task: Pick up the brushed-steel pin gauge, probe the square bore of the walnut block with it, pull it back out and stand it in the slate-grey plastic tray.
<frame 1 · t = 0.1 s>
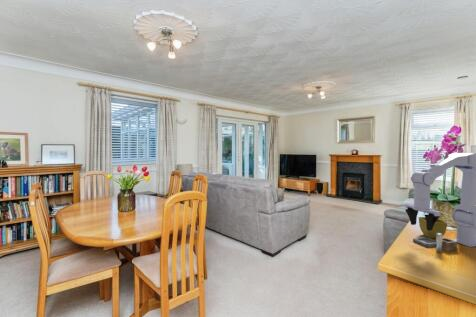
hand: (421, 227, 105), 10 cm above the table, fingers open, 7 cm apart
pin gauge: (439, 251, 102), on the table
walnut block: (446, 248, 105), on the table
tray: (426, 243, 110), on the table
flower pot: (431, 237, 119), on the table
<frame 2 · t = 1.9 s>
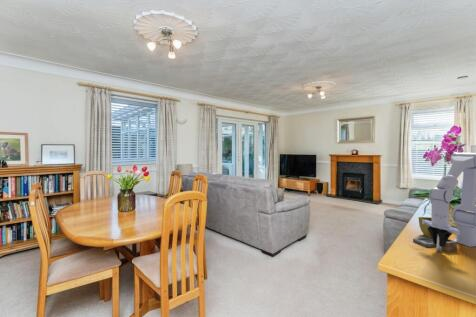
hand: (439, 244, 102), 3 cm above the table, fingers closed on pin gauge, 2 cm apart
pin gauge: (439, 251, 102), on the table, touching gripper
everything else where it was.
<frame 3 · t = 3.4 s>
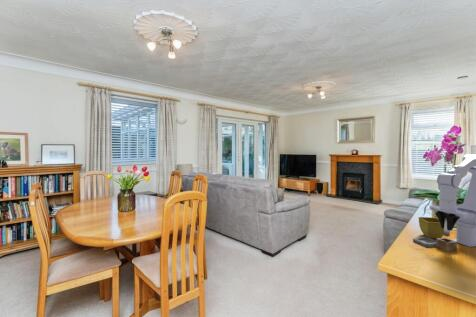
hand: (446, 229, 104), 9 cm above the table, fingers closed on pin gauge
pin gauge: (446, 235, 104), point 6 cm above the table, touching gripper
everything else where it was.
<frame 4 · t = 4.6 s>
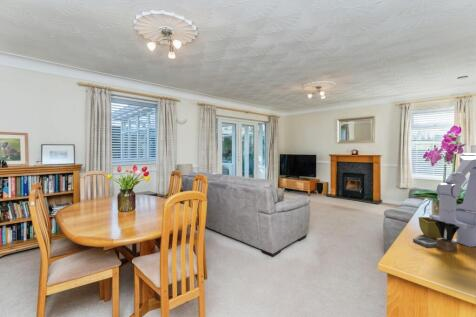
hand: (446, 238, 104), 5 cm above the table, fingers closed on pin gauge, 2 cm apart
pin gauge: (446, 245, 104), point 2 cm above the table, touching gripper
everything else where it was.
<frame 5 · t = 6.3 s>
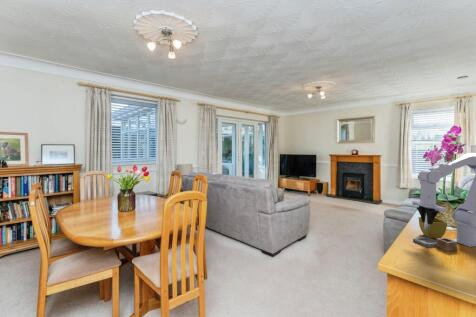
hand: (427, 223, 110), 10 cm above the table, fingers closed on pin gauge
pin gauge: (427, 229, 110), point 7 cm above the table, touching gripper
everything else where it was.
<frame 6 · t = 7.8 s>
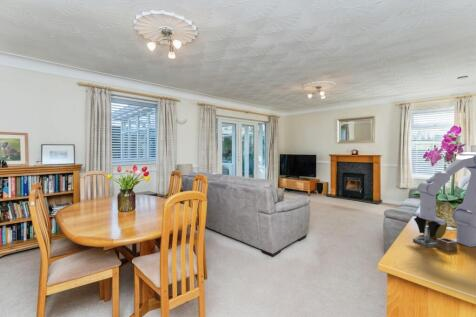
hand: (427, 234, 110), 4 cm above the table, fingers open, 4 cm apart
pin gauge: (426, 242, 110), point 1 cm above the table, touching tray
everything else where it was.
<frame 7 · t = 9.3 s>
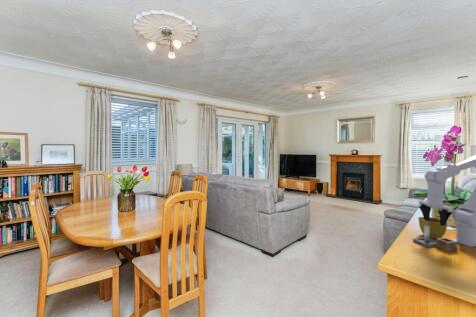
hand: (434, 222, 110), 10 cm above the table, fingers open, 7 cm apart
nothing on the table moved.
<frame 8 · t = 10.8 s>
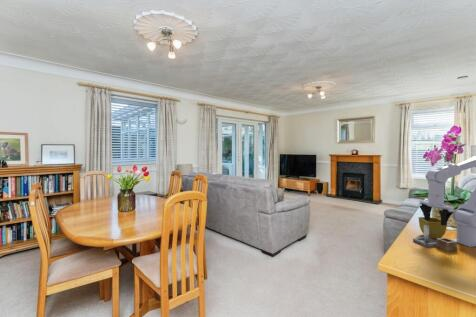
hand: (435, 222, 110), 10 cm above the table, fingers open, 7 cm apart
nothing on the table moved.
at the end: pin gauge 0.1 cm off-centre on the tray, point 0.6 cm above the tray's base; pin gauge tilted 2°; walnut block moved 0.0 cm from its start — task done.
